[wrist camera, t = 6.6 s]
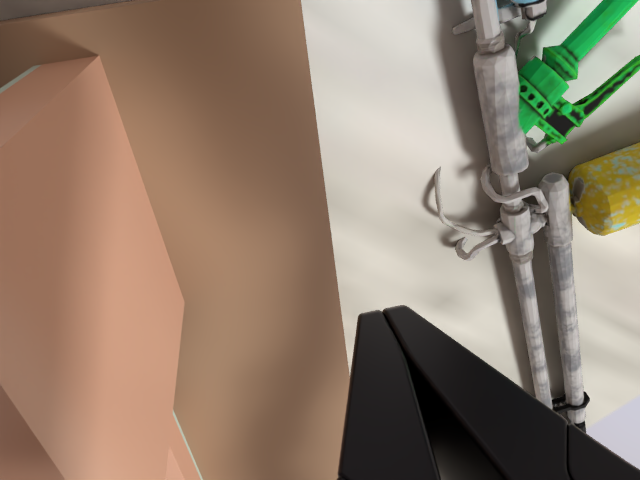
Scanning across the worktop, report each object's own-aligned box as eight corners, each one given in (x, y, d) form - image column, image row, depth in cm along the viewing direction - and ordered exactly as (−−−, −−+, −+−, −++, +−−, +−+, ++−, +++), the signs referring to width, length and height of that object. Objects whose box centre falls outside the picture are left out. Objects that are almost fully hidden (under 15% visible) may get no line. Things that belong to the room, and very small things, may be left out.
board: (-10, 550, 24) (-21, 577, 23) (-445, 88, 12) (-507, 102, 11) (358, 466, 25) (364, 488, 24) (291, -24, 13) (298, -21, 12)
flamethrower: (743, -400, 11) (317, -200, 12) (870, -479, 9) (334, -226, 10) (674, 388, 27) (496, 445, 28) (712, 431, 25) (517, 491, 26)
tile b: (136, 311, 17) (62, 628, 9) (33, 65, 12) (-273, 272, 5) (184, 302, 17) (152, 606, 9) (99, 55, 12) (-99, 240, 5)
